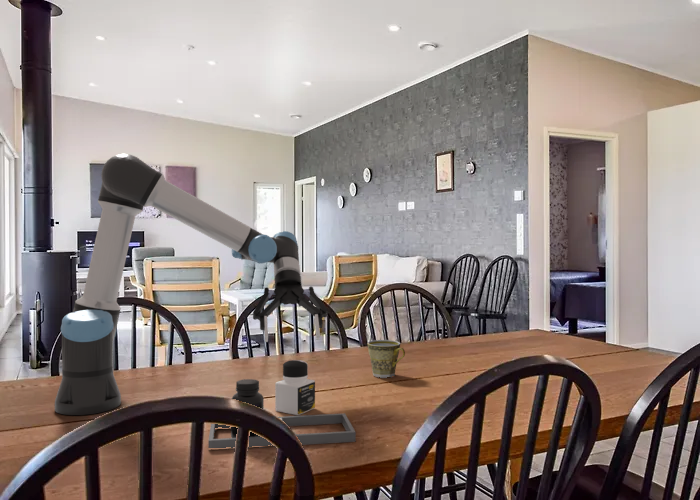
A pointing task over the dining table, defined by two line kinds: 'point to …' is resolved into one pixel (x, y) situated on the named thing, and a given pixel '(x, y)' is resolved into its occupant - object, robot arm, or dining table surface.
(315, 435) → the tray
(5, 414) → the dining table surface
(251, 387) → the supplement bottle
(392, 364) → the ceramic cup
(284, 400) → the medicine bottle
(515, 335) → the dining table surface
